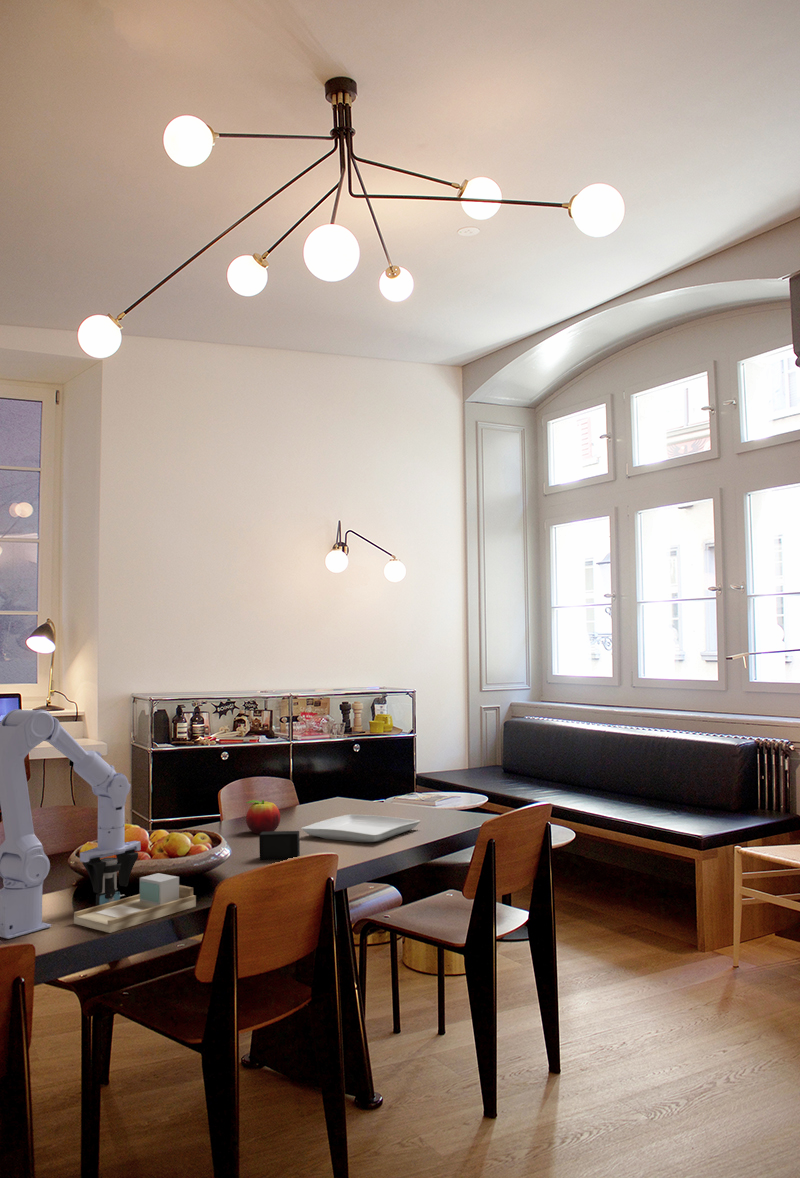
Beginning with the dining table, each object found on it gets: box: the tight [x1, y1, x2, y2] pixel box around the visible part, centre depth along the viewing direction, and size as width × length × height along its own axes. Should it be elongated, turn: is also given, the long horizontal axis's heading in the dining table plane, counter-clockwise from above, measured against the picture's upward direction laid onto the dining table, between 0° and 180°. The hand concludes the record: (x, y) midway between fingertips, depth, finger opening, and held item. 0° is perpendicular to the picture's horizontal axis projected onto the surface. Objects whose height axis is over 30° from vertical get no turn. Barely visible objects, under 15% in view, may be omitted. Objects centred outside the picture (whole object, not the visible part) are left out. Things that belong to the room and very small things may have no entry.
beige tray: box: [73, 884, 197, 934], centre depth 187 cm, size 22×12×4 cm, turn 144°
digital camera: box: [258, 830, 301, 862], centre depth 239 cm, size 10×5×7 cm, turn 89°
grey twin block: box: [139, 872, 180, 905], centre depth 192 cm, size 5×7×5 cm
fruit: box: [245, 799, 281, 835], centre depth 276 cm, size 11×11×10 cm
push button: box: [95, 857, 125, 906], centre depth 195 cm, size 7×5×10 cm
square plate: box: [300, 813, 421, 843], centre depth 269 cm, size 27×27×4 cm
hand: (110, 889), depth 195 cm, fingers open, 6 cm apart
